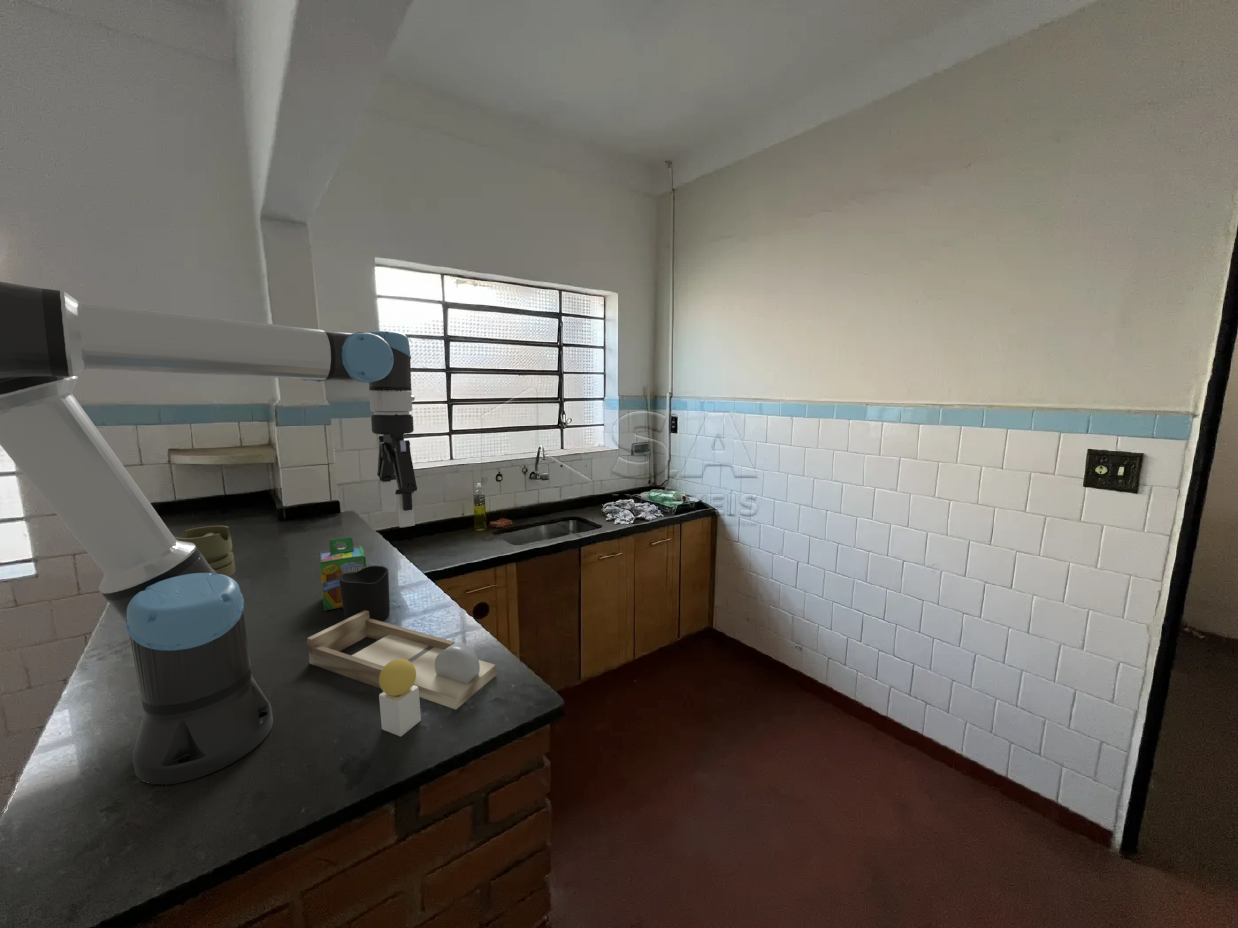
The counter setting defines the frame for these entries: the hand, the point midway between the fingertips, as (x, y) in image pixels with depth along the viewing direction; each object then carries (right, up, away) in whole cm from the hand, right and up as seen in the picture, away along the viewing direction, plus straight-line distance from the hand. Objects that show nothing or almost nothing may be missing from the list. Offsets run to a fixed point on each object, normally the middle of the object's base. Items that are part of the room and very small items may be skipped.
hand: (397, 518), depth 100 cm
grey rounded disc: (+18, -26, -16) cm, 36 cm away
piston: (-63, -19, +30) cm, 72 cm away
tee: (+12, -28, -26) cm, 40 cm away
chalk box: (-19, -21, +16) cm, 33 cm away
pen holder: (-10, -23, +8) cm, 26 cm away
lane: (+6, -26, -11) cm, 29 cm away
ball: (+12, -20, -27) cm, 36 cm away
